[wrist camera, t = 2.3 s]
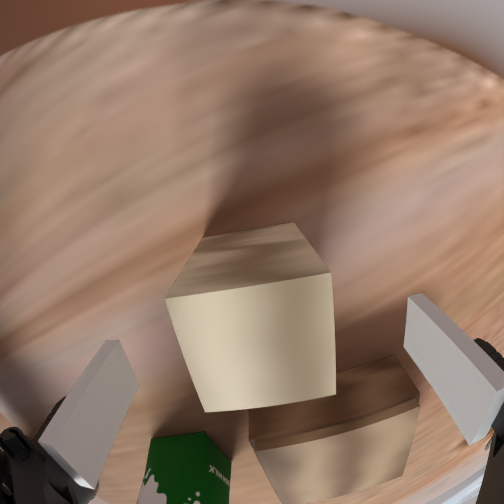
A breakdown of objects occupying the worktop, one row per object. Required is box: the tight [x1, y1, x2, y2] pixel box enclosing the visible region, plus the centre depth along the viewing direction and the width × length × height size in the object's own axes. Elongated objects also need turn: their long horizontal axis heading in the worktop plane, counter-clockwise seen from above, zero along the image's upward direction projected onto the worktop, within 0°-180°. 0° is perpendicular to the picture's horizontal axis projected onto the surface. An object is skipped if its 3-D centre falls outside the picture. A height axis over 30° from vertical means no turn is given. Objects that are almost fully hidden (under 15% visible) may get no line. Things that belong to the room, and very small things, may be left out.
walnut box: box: [249, 355, 420, 504], centre depth 23 cm, size 14×14×7 cm
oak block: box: [165, 222, 336, 412], centre depth 17 cm, size 6×6×10 cm
